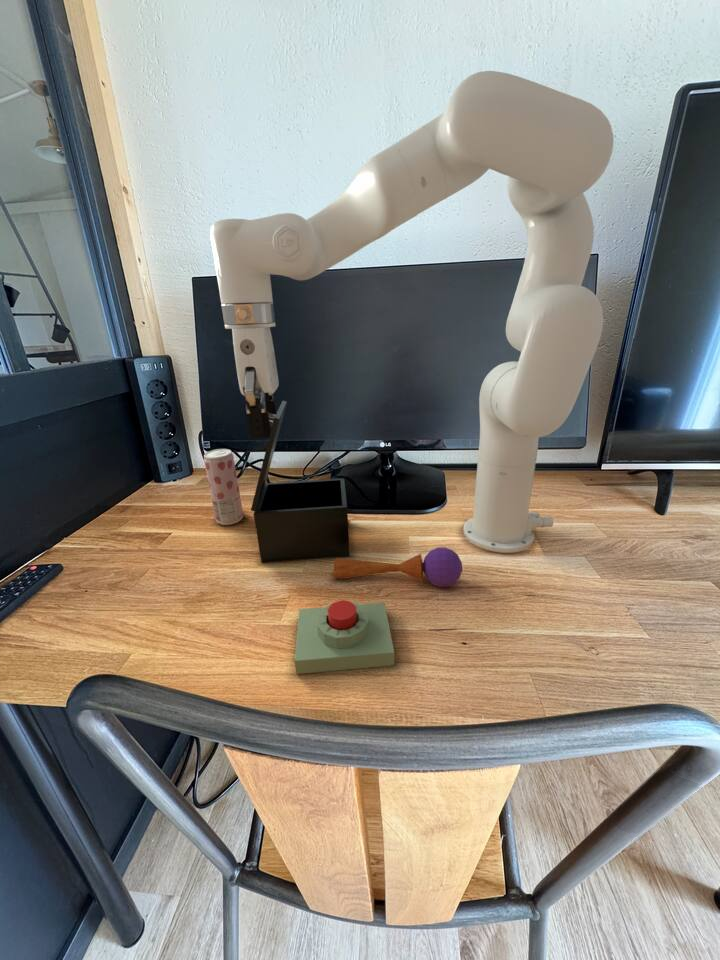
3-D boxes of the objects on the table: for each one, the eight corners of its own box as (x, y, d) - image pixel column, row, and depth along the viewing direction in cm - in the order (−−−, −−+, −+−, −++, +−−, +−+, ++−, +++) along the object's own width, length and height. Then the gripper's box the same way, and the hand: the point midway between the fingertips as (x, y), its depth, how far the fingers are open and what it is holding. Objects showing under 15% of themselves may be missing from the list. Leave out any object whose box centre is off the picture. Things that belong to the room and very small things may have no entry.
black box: (346, 521, 82) (344, 478, 79) (349, 556, 71) (347, 507, 67) (270, 527, 82) (264, 483, 78) (261, 563, 70) (253, 513, 66)
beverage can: (247, 513, 88) (237, 448, 82) (237, 526, 82) (225, 458, 76) (223, 512, 88) (210, 448, 82) (211, 525, 83) (197, 457, 77)
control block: (384, 614, 57) (384, 591, 56) (394, 665, 49) (394, 640, 47) (300, 621, 56) (297, 598, 55) (296, 674, 48) (292, 649, 47)
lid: (287, 401, 72) (260, 393, 71) (279, 419, 60) (247, 409, 59) (266, 481, 78) (241, 475, 77) (255, 511, 66) (226, 504, 65)
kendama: (337, 544, 67) (459, 541, 64) (341, 577, 68) (460, 575, 65) (329, 559, 61) (463, 556, 58) (333, 594, 63) (464, 593, 59)
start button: (355, 609, 53) (355, 599, 52) (357, 629, 50) (357, 618, 49) (328, 611, 53) (327, 601, 52) (328, 632, 49) (327, 621, 49)
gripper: (266, 317, 52) (281, 445, 59) (280, 315, 68) (291, 416, 75) (208, 319, 52) (230, 447, 59) (236, 317, 68) (251, 418, 75)
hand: (264, 429), depth 67 cm, fingers closed on lid, 7 cm apart
